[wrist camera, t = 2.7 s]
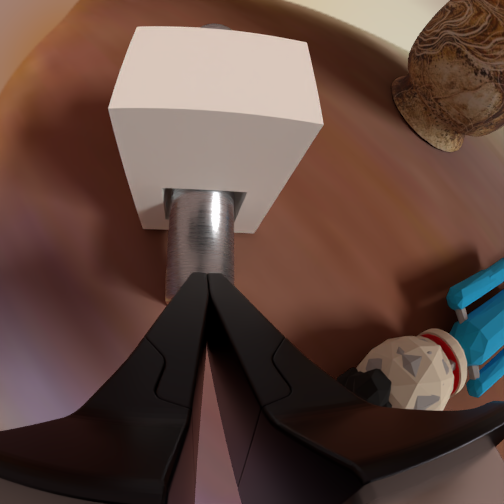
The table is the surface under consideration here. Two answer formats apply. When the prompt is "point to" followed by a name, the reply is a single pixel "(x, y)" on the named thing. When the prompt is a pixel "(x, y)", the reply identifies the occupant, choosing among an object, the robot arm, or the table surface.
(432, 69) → the vase
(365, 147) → the table surface
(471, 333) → the toy
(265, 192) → the white block
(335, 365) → the table surface
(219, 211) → the metal cylinder
